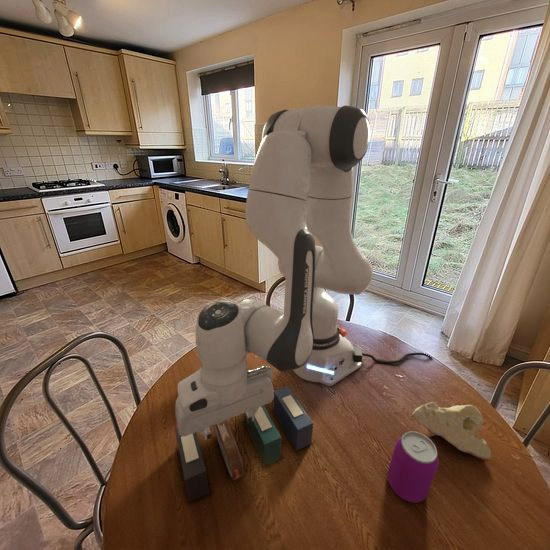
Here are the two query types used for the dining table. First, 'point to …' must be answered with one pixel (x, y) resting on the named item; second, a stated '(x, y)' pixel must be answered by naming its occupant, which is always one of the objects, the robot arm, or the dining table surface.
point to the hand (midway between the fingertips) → (229, 427)
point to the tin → (229, 450)
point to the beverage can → (413, 466)
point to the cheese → (454, 426)
